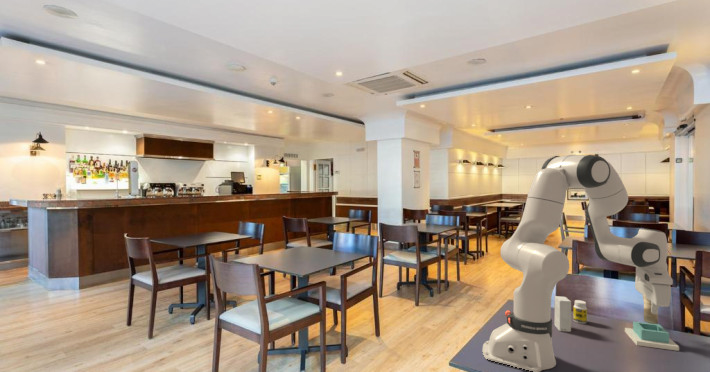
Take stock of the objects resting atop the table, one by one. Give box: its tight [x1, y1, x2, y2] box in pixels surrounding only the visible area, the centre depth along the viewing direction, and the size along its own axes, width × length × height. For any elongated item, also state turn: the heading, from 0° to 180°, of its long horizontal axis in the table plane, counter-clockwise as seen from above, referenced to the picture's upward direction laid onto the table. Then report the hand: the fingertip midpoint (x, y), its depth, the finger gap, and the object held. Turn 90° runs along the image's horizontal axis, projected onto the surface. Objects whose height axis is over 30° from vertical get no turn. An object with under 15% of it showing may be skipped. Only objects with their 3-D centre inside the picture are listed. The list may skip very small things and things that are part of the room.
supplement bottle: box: [572, 299, 588, 325], centre depth 147 cm, size 5×5×8 cm
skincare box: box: [554, 295, 572, 333], centre depth 141 cm, size 6×4×12 cm
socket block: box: [624, 321, 680, 352], centre depth 130 cm, size 12×12×5 cm
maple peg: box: [643, 294, 659, 324], centre depth 130 cm, size 4×4×10 cm
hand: (650, 310), depth 130 cm, fingers closed on maple peg, 4 cm apart
